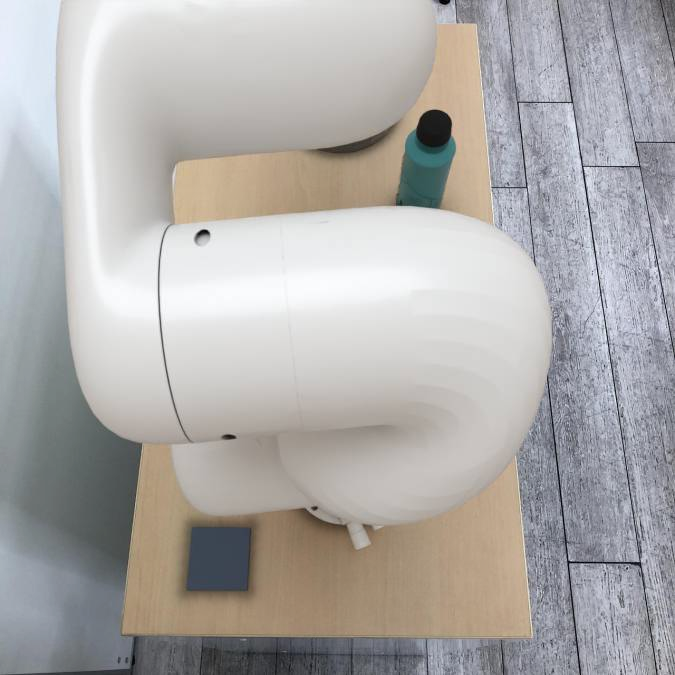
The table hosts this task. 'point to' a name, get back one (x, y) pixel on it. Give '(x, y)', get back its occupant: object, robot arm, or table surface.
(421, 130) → the beverage bottle
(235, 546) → the mat
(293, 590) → the table surface
